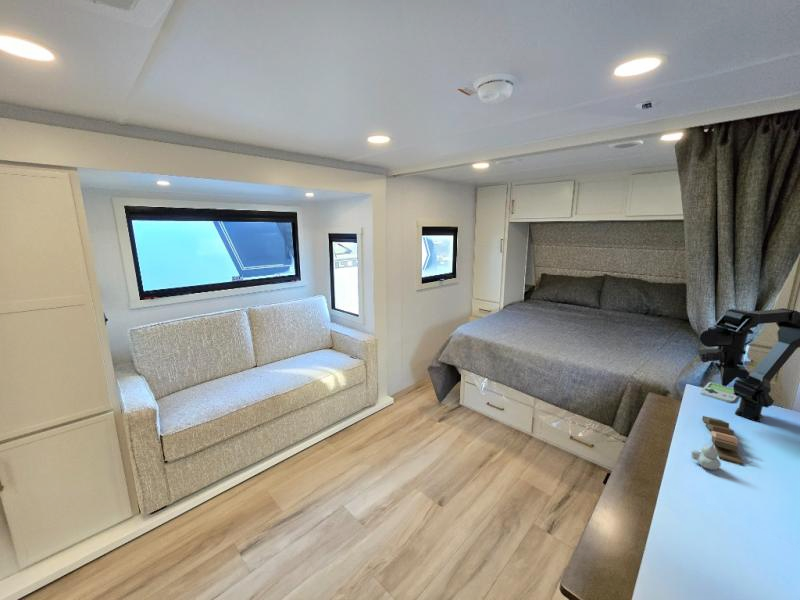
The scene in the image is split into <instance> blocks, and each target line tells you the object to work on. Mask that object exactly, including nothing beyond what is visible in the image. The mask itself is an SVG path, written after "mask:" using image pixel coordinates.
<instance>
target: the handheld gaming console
mask: <svg viewBox="0 0 800 600" xmlns="http://www.w3.org/2000/svg"><path fill="white" fill-rule="evenodd" d="M699 394H700V395H702V396H704V397H705V396H706V397H708V398H711V399H715V400H717V401H721V402H725V403H734V402H735V401H736V399H737V398H738V396H736V395H734V388H733V387H729V386H722V384H718V383H715V382H712V381H709V382H708V383H706V385H704V387H703V388H702V389H701V390H700V392H699Z"/></svg>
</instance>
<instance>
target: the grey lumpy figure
mask: <svg viewBox="0 0 800 600" xmlns="http://www.w3.org/2000/svg"><path fill="white" fill-rule="evenodd" d="M718 456H719V454H718V453H717V451H716V449H715V446H714V444H707V445H704V446H703V447H702V448H701V450H700V451H699V450H695V449H691V455H690V457H691V458H692V459H693V460H695V461H697V463H699V465H700V466H701V467H702V468H706V469H707V470H712V471H713V470H717V469H719V468H720V467H721V461H720V459H719V458H718Z"/></svg>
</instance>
